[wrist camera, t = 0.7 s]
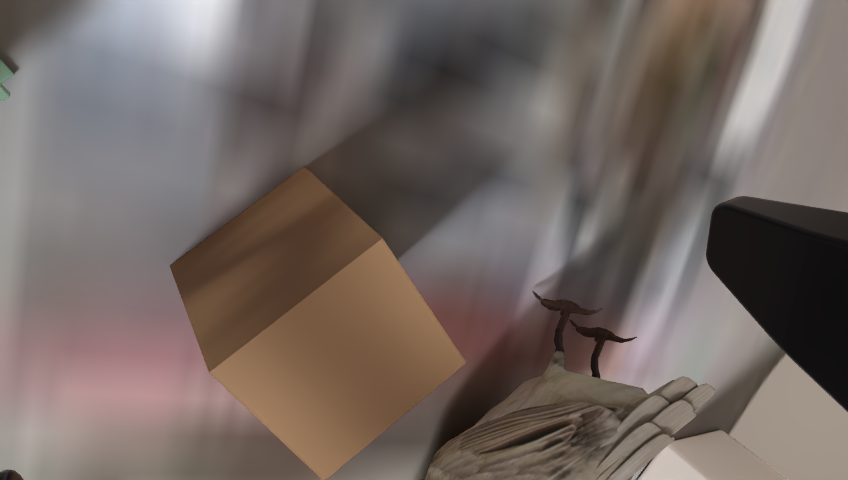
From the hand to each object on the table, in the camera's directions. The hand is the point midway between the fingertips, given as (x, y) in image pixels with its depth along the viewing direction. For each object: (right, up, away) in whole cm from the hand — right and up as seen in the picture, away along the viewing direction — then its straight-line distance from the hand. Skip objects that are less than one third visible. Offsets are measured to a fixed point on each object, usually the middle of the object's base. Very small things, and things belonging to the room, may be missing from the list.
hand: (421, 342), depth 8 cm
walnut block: (-4, 0, +14) cm, 14 cm away
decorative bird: (+2, -7, +21) cm, 22 cm away
